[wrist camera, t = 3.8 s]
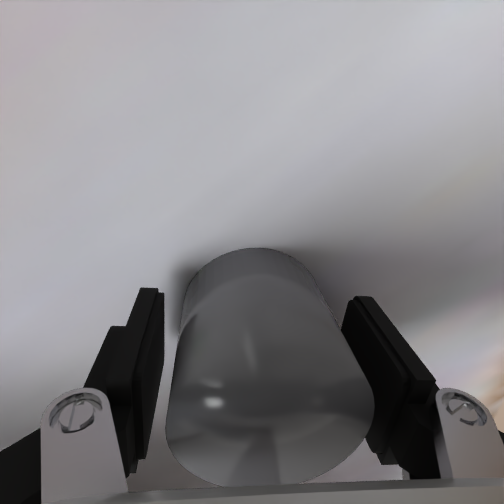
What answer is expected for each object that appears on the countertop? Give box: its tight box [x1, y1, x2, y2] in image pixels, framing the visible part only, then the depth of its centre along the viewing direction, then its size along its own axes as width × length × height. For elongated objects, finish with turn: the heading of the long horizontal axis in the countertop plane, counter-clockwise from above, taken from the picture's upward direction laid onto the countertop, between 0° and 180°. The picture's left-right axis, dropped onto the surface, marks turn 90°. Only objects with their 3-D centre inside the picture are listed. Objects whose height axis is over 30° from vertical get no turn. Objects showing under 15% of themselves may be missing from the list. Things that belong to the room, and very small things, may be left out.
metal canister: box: [165, 248, 375, 487], centre depth 11 cm, size 5×5×5 cm
